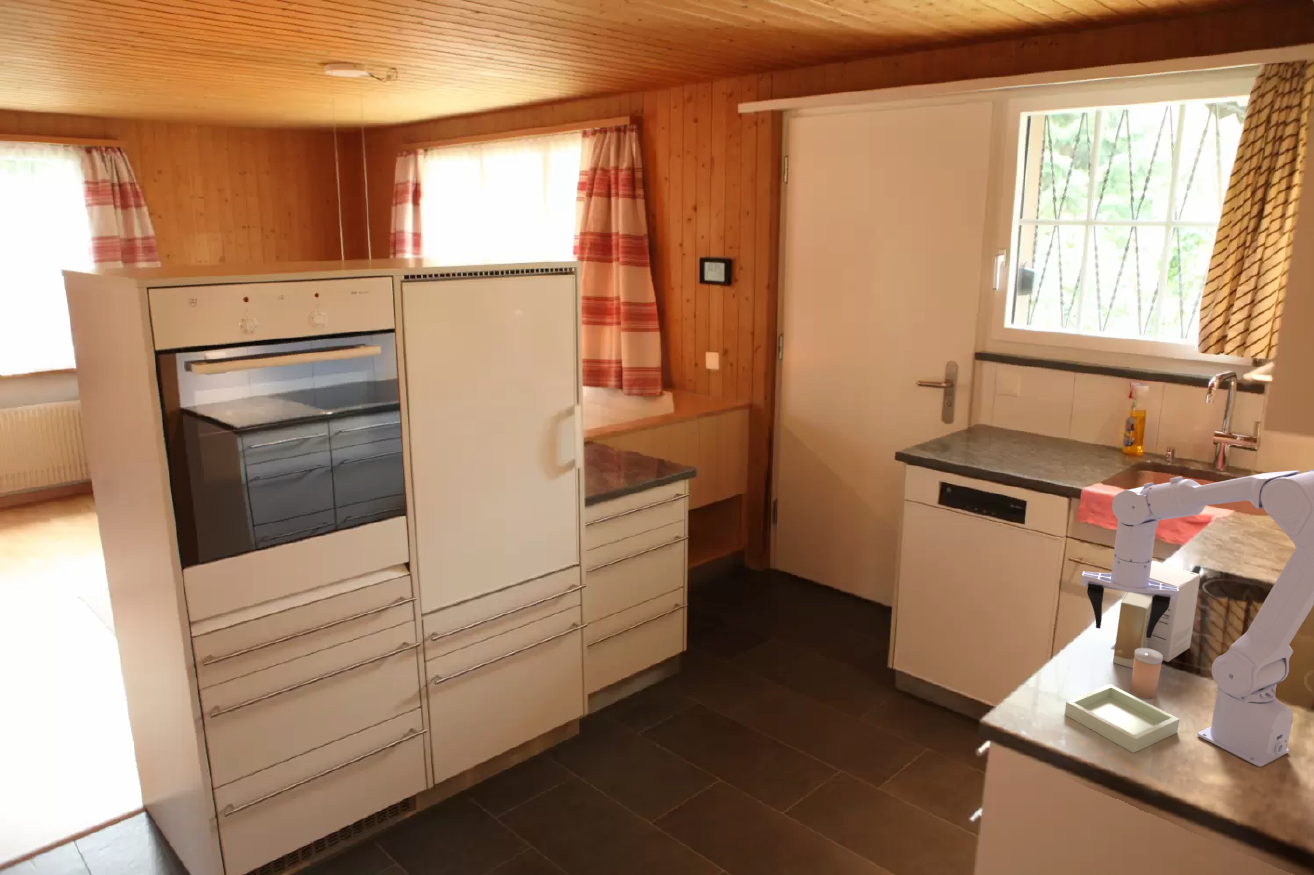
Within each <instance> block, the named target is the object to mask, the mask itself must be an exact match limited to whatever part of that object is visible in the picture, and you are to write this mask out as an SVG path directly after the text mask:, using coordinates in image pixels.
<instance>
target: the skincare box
mask: <svg viewBox="0 0 1314 875" xmlns="http://www.w3.org/2000/svg"><path fill="white" fill-rule="evenodd" d="M1151 604H1152V596H1148V595H1143V594H1137V593H1131V592H1126V594H1125V595H1124V596H1123V599H1122V600H1121V602H1120V609H1119V617H1118V622H1117V632H1116V638H1115V639H1116V640H1115V645H1114V646H1115V647H1114V652H1113V660H1112V662H1113V663H1114V664H1117V665H1120V666H1124V667H1127V668H1130V669H1133V665H1134V658H1135V657H1134V653H1135V650H1136V649H1138V648H1147V643H1148V638H1147V637H1146V632H1147V625H1148V621H1149V617H1150V612H1151Z"/></svg>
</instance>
